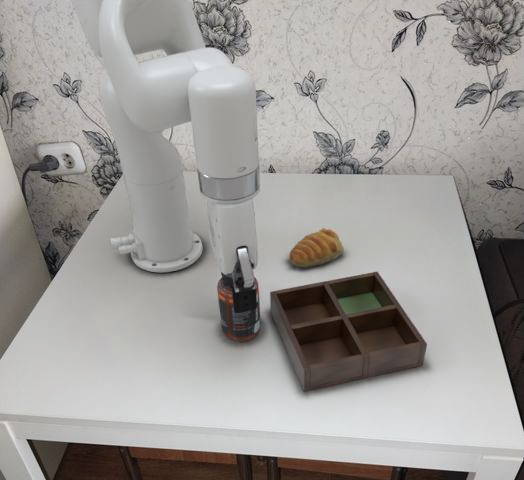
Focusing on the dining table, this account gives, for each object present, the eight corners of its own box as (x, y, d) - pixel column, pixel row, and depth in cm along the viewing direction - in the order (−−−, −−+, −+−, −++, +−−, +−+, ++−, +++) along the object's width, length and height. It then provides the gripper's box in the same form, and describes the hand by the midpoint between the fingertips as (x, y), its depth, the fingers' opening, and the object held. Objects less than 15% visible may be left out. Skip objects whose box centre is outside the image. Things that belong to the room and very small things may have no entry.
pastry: (305, 276, 98) (306, 257, 96) (279, 259, 102) (279, 240, 100) (346, 254, 103) (347, 236, 100) (319, 239, 106) (320, 220, 104)
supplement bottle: (268, 332, 89) (266, 271, 81) (235, 348, 86) (229, 287, 79) (247, 312, 92) (242, 251, 85) (214, 327, 90) (207, 266, 82)
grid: (304, 391, 80) (304, 370, 77) (270, 312, 92) (269, 291, 89) (422, 365, 83) (427, 344, 80) (374, 291, 95) (377, 271, 92)
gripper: (187, 152, 78) (202, 262, 90) (212, 219, 65) (225, 336, 78) (242, 144, 79) (249, 254, 91) (277, 208, 67) (280, 325, 79)
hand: (238, 291), depth 84 cm, fingers open, 7 cm apart
